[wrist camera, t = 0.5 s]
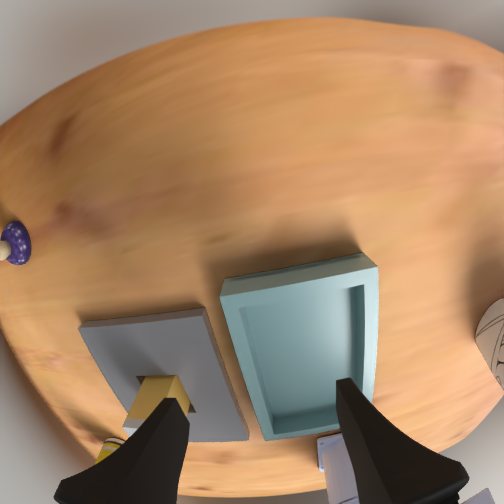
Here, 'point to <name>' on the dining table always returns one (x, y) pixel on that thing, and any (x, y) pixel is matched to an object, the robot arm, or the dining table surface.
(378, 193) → the dining table surface
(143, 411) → the block
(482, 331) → the mug
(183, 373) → the socket block
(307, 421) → the parts tray
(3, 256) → the toy lamp
